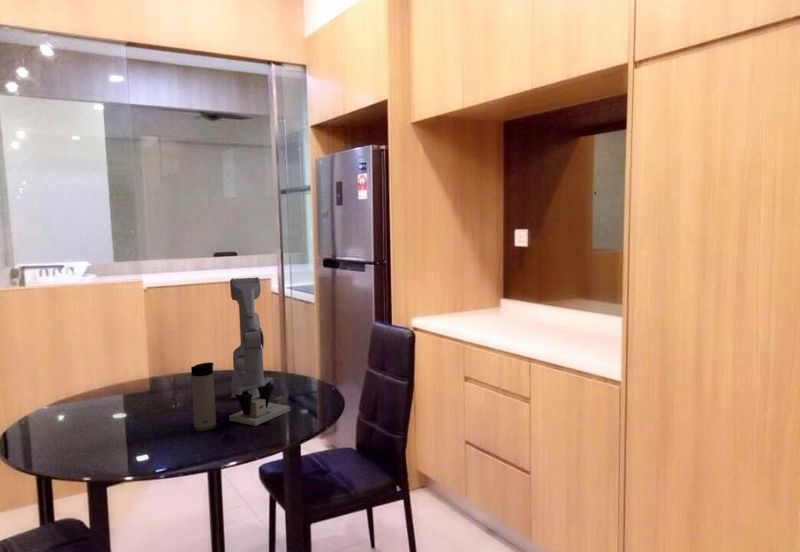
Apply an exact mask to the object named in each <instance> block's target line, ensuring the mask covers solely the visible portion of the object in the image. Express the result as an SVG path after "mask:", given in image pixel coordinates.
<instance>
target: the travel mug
mask: <svg viewBox="0 0 800 552" xmlns="http://www.w3.org/2000/svg"><path fill="white" fill-rule="evenodd" d="M190 370H191V390H192V408H193V409H192V411H193V413H192V414H193V426H194V431H197V432H207V431H211V429H212V430H213V429H215V428H216V427H217V416H216V398H215V378H214V377H215V376H214V362H204V363H199V364H195V365H194V366H191V368H190Z"/></svg>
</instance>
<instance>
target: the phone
mask: <svg viewBox="0 0 800 552" xmlns="http://www.w3.org/2000/svg"><path fill="white" fill-rule="evenodd" d="M277 397H279V396H277V395H272V394H271V395H270V398H269V403H273V399H274V398H277ZM258 398H259V399H260V397H258Z"/></svg>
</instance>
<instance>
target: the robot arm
mask: <svg viewBox="0 0 800 552" xmlns="http://www.w3.org/2000/svg"><path fill="white" fill-rule="evenodd" d="M229 284H230V285H229V287H230V297H231V300H232V301H235V302H237V304H238V312H239V313H238V314H239V317H238V318H239V333H240V345H239V346H237V347H236V348H235V349H234V350H233V353H232V355H233V356H232V363H233V364H232V365H233V366H232V367H233V372H234V373H233V374H232V377H231V395H230V398H232V399H233V398H234V399H237V401H238V402H239V404H240V405H239V406H240V407H241V411H243V413H244V415H248V416H249V415H250V413H251V400H252V399H255V398H260V399H265V402H266V408H267V407H268V403H269V398H270V395H272V393H273V390H274V388H275V386H274V385H273V384H274V378H273V376H272V377H271V376H268V377H265V376H264V359H263V358H264V357H263V356H264V355H263V353H264V351H263V349H264V345H265V340H264V339H265V337H264V333H263V328H262V327H261V323H260V316H259V314H258V313H257V312H255V300H257V299H259V297H260V294H261V292H262V291H261V289H262V288H261V280H260V277H258V276H256V277H243V278H242V277H239V278H230V281H229Z"/></svg>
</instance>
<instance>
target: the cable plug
mask: <svg viewBox="0 0 800 552" xmlns="http://www.w3.org/2000/svg"><path fill="white" fill-rule="evenodd" d="M286 402H287V396H285V395H279V396H278V397H277V398H274V399H273V402H272V403H274V404H280V405H282V404H283V403H286Z"/></svg>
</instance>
